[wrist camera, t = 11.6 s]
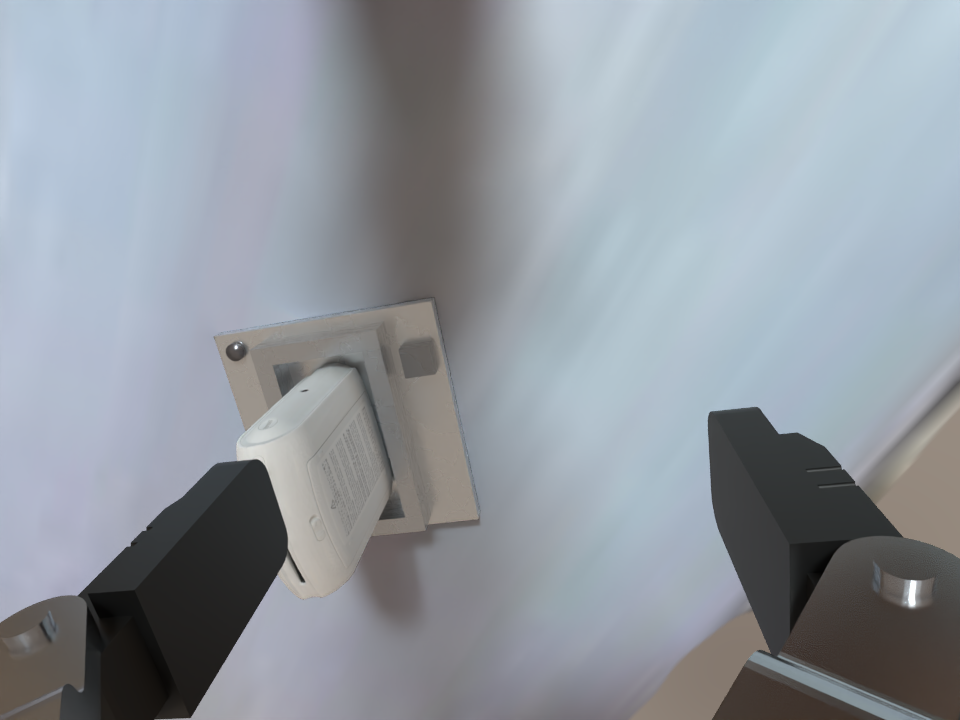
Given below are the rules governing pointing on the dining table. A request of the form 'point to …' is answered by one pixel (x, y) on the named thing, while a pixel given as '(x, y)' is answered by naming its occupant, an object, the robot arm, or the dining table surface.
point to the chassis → (372, 398)
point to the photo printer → (323, 475)
